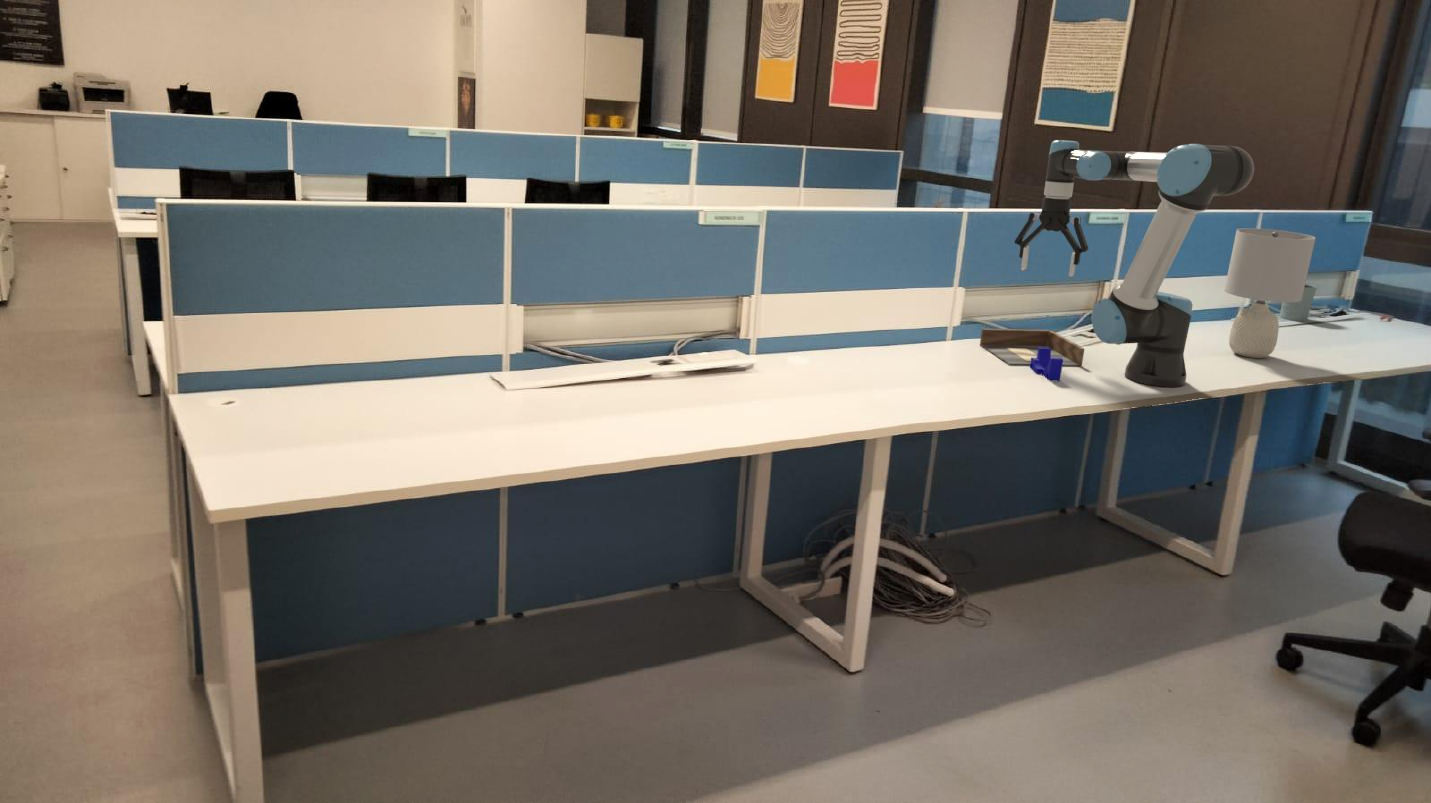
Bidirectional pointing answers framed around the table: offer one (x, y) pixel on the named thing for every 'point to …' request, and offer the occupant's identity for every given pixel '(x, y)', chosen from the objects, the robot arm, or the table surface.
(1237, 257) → the lamp
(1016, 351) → the corner arena
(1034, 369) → the blue u-shaped bracket
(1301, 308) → the grey tapered pot
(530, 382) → the table surface
